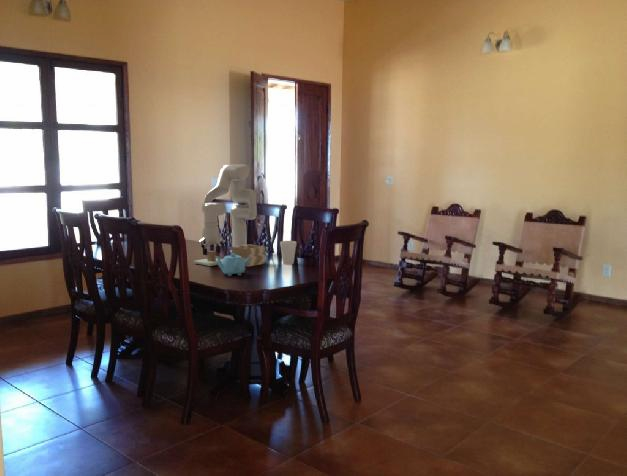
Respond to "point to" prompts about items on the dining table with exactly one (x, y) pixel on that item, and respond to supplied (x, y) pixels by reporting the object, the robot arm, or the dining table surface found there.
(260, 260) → the box
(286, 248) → the foam cup
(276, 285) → the dining table surface
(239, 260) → the teapot
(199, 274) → the dining table surface
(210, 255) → the lid
